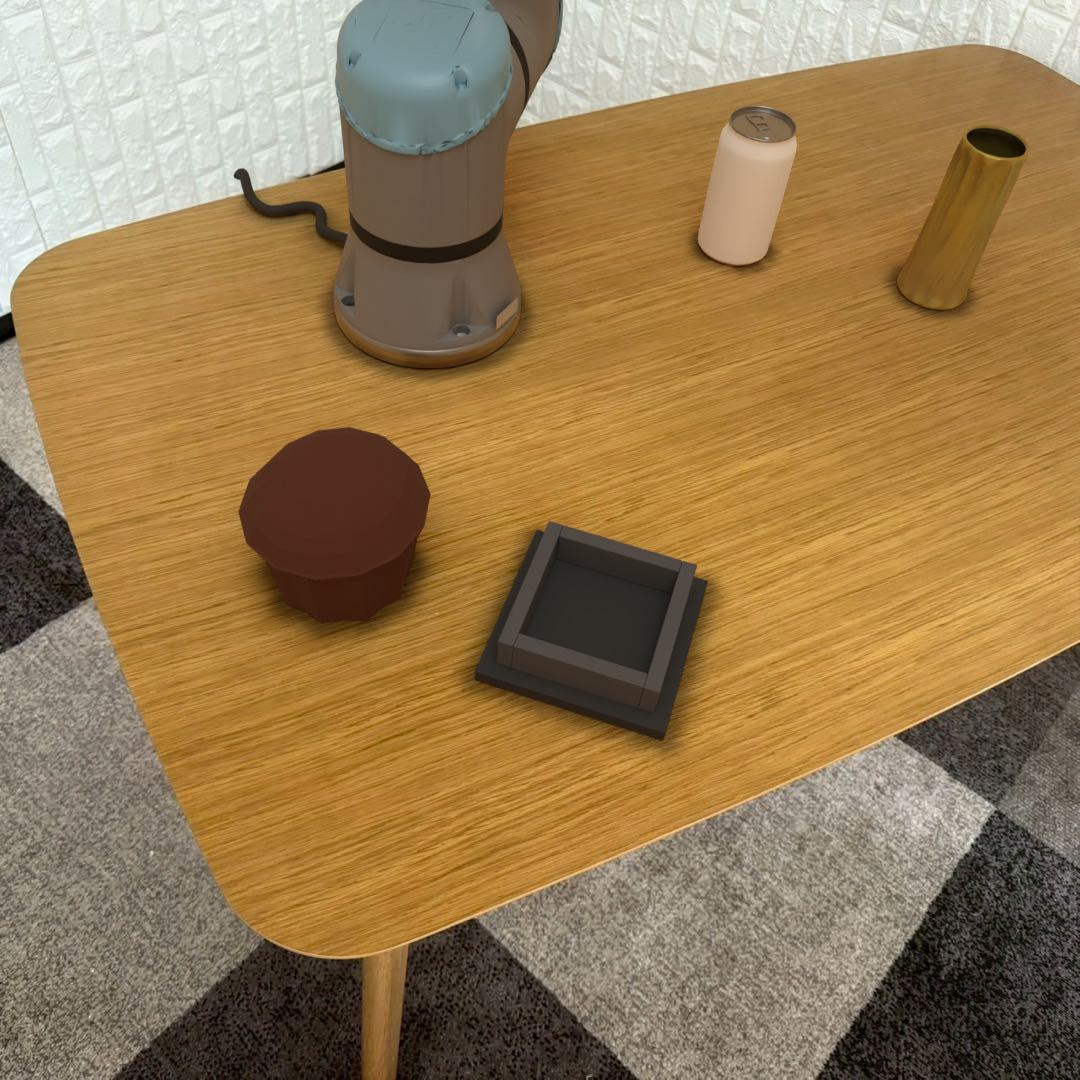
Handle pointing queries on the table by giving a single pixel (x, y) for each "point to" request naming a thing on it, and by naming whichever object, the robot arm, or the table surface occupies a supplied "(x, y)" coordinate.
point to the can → (747, 185)
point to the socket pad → (596, 629)
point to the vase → (963, 217)
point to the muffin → (337, 521)
